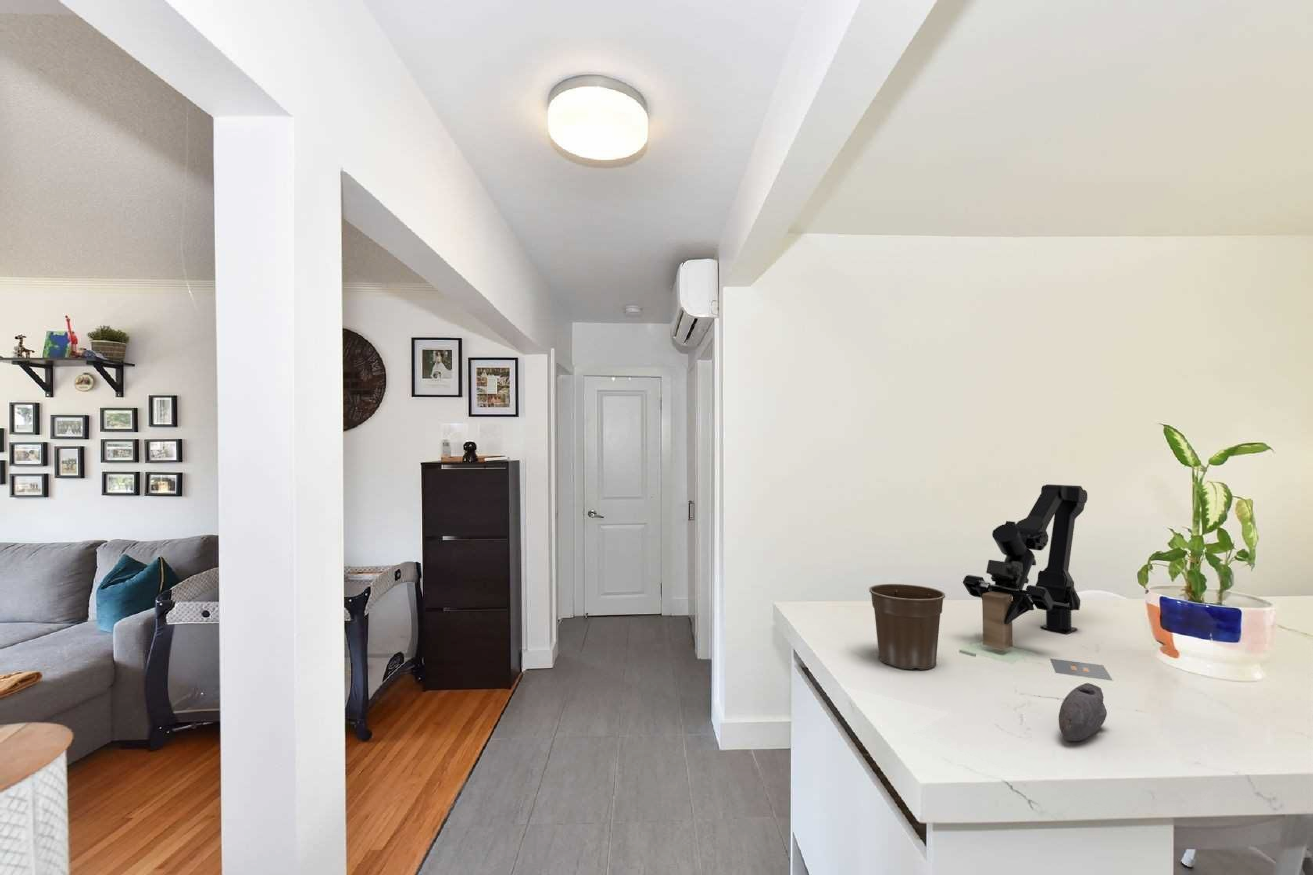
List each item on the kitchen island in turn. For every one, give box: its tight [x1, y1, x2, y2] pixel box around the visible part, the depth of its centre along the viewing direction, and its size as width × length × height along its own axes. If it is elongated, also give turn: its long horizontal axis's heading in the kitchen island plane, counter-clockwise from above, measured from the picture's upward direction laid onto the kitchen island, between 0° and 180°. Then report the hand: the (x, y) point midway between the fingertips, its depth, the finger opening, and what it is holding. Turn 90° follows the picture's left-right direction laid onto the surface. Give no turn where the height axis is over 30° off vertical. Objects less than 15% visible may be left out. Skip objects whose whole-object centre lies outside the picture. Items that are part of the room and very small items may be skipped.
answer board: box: [959, 640, 1037, 665], centre depth 145 cm, size 12×12×1 cm
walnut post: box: [981, 591, 1014, 650], centre depth 145 cm, size 5×5×12 cm
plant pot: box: [868, 583, 946, 671], centre depth 140 cm, size 16×16×16 cm
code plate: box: [1049, 658, 1114, 681], centre depth 133 cm, size 10×10×1 cm
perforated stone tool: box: [1058, 682, 1108, 742], centre depth 105 cm, size 15×5×7 cm, turn 128°
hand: (994, 621), depth 144 cm, fingers closed on walnut post, 4 cm apart
